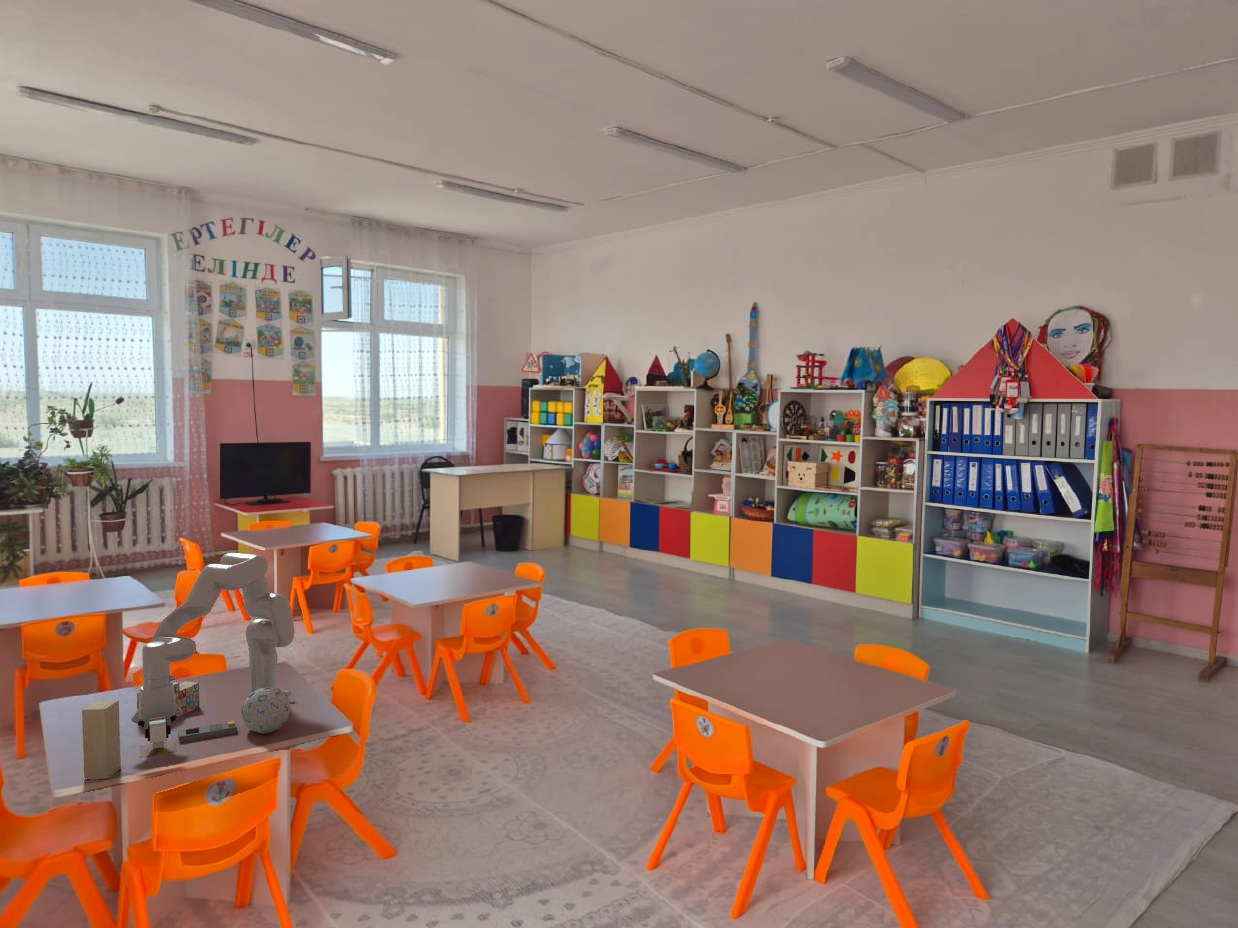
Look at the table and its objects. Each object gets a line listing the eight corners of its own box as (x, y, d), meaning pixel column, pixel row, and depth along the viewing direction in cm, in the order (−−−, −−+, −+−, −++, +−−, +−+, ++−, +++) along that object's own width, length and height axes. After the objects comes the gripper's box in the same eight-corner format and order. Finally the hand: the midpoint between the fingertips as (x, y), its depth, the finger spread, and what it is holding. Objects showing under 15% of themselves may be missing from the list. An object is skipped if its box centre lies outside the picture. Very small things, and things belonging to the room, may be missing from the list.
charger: (165, 740, 265) (165, 719, 264) (166, 746, 260) (165, 724, 260) (149, 743, 263) (149, 721, 262) (150, 749, 258) (149, 727, 257)
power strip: (235, 729, 280) (234, 718, 280) (237, 735, 275) (236, 724, 275) (178, 739, 271) (178, 727, 271) (179, 745, 266) (179, 734, 266)
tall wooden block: (95, 768, 249) (93, 700, 248) (121, 767, 250) (119, 699, 248) (81, 780, 241) (78, 709, 240) (107, 779, 242) (105, 709, 240)
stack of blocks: (185, 705, 302) (185, 672, 301) (200, 707, 300) (199, 674, 300) (137, 727, 282) (136, 691, 281) (152, 729, 280) (151, 693, 279)
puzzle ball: (292, 735, 275) (291, 692, 274) (242, 743, 269) (242, 698, 268) (288, 720, 289) (288, 678, 288) (241, 727, 282) (240, 684, 281)
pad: (175, 742, 268) (175, 739, 268) (176, 754, 260) (176, 750, 260) (139, 748, 263) (139, 745, 263) (140, 760, 255) (140, 757, 255)
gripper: (186, 674, 268) (187, 729, 269) (125, 682, 259) (127, 739, 260) (187, 680, 261) (188, 737, 262) (125, 689, 253) (126, 747, 254)
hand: (157, 737), depth 261 cm, fingers closed on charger, 4 cm apart
